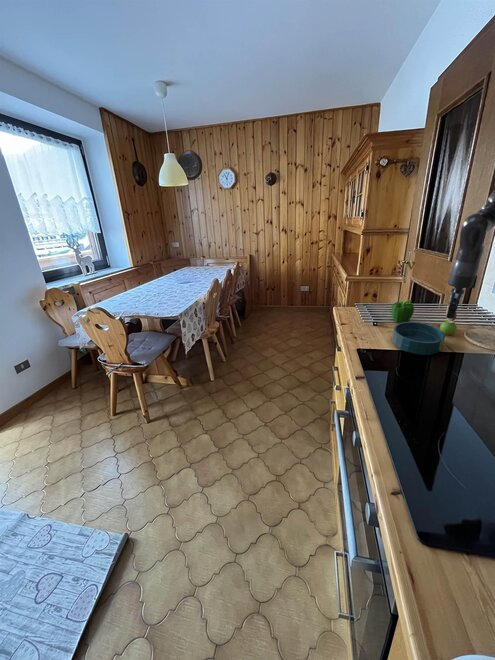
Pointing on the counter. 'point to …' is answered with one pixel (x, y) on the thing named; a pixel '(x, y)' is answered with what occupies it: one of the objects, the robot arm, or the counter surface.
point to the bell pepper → (402, 311)
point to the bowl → (418, 338)
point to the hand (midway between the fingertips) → (450, 313)
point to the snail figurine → (449, 324)
